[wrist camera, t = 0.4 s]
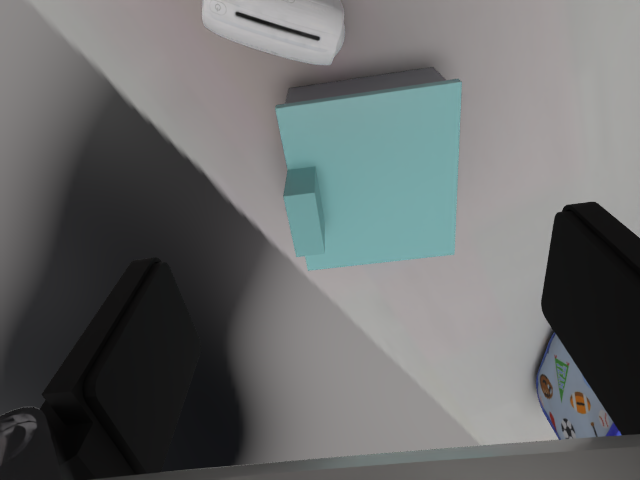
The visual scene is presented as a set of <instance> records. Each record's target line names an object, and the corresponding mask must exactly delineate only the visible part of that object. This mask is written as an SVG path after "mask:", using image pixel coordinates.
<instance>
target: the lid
mask: <svg viewBox="0 0 640 480" xmlns="http://www.w3.org/2000/svg"><path fill="white" fill-rule="evenodd" d="M461 87H462V82H461V81H460V80H459V79H453V80H446V81H439V82H432V83H425V84H418V85H411V86H405V87H398V88H391V89H384V90H377V91H370V92H363V93H356V94H349V95H342V96H336V97H329V98H322V99H315V100H308V101H301V102H294V103H287V104H280V105H276V108H275V110H276V115H277V120H278V125H279V130H280V135H281V140H282V144H283V149H284V154H285V159H286V164H287V169H288V171H287V177H286V183H285V190H284V196H283V197H284V202H285V206H286V211H287V216H288V220H289V225H290V229H291V234H292V239H293V243H294V248H295V252H296V257H301V256H305V258H306V263H307V268H308V271H309V270H318V269H327V268H336V267H345V266H354V265H363V264H372V263H382V262H391V261H400V260H409V259H418V258H427V257H436V256H445V255H454V251H455V228H456V204H457V181H458V158H459V134H460V111H461Z"/></svg>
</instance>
